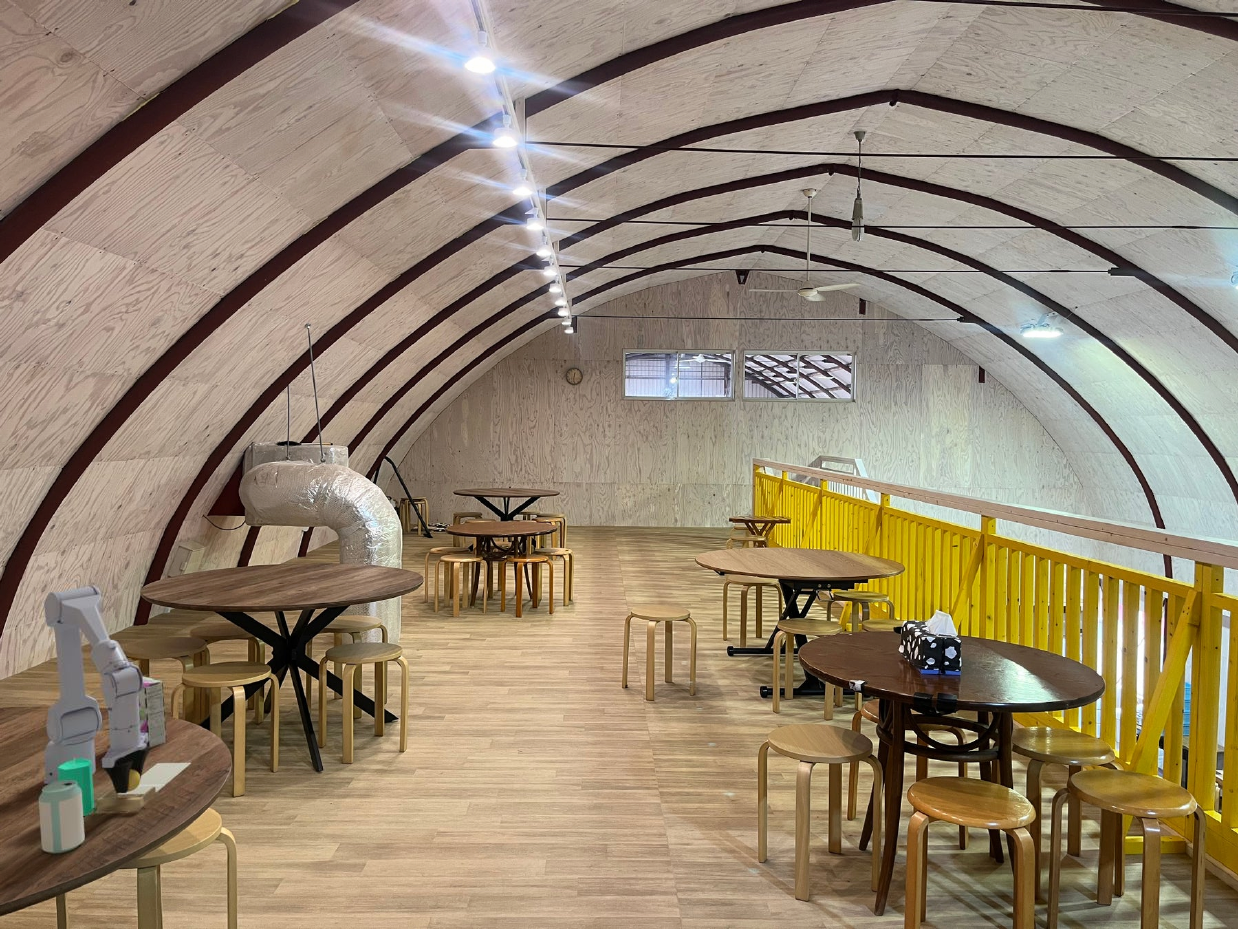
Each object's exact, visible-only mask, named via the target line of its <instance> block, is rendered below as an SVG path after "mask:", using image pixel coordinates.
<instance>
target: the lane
mask: <svg viewBox="0 0 1238 929" xmlns="http://www.w3.org/2000/svg"><path fill="white" fill-rule="evenodd" d="M191 764H192V762H163V763H162V762H160V763H159V762H158V763H156V764H154V765H153V766H152V767H150V769H148V770H147V771H146V772H144V773H142V776H141V780H140V783H139V785H138V787H137V788H136V789H134V790H132V791H129V792H127V793H116V796H117V795H118V796H119V795H122V796H123V795H126V796H127V795H144V794H145V793H146V792H147V791H149V790H150V789H151V788H152V787H155V788H156V793H158V792H159V791H160V790H161V789H162V788H163V787H165V786H166V785H167V784H168V783H169V782H170V781H172V780H173V779H174V778H175V777H176V776H178V775H179V774H180V773H181V772H183V771H184V770H185V769H186V768H187V767H189V765H191Z"/></svg>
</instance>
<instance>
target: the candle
mask: <svg viewBox="0 0 1238 929" xmlns="http://www.w3.org/2000/svg"><path fill="white" fill-rule="evenodd" d="M58 776H59V781H63V780H74V781H76V782H77V785H78V786H79V787H80V788H81V790H82V805H83V816H85V817H87V816H88V815H87V814H89V813H91V812H92V811H93V809H94V810H95V808H94V807H95V798H94V796H95V795H94V783H93V782H94V780H93V774H92V762H91V761H90V760H87V759H84V758H82V759H76V760H75V757H74V760H72V761H68V762H66V763H64V764H62V765H60V766H59V767H58ZM93 812H94V811H93ZM93 812H92V813H93ZM92 813H91V814H92ZM86 815H87V816H86ZM89 815H90V814H89Z"/></svg>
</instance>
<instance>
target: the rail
mask: <svg viewBox="0 0 1238 929" xmlns="http://www.w3.org/2000/svg"><path fill="white" fill-rule="evenodd" d="M156 796H157V792H156V788H155V787H152V788H151V789H150V790H149V791H147V792H146V793H145V794H141V796H138V797H137V796H134V797H132V796H131V797H130V796H129V797H124V796H123V797H117V793H116V791H115V788H114V787H112V788H110V789H109V790H108V791H106V792H105V793H104V794H102V795H101V796H100V797H99V798H97V799H96V802H95V803H96V804H95V805H96V812H97V811H122V810H132V811H131V812H142V811H143V810H144V809H145V808H144V807H143V806H145V805H146V804H147V803H148V802H149V801H150V800H152V799H153V798H154V797H156ZM143 808H144V809H143ZM142 809H143V810H142ZM141 810H142V811H141Z"/></svg>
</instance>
